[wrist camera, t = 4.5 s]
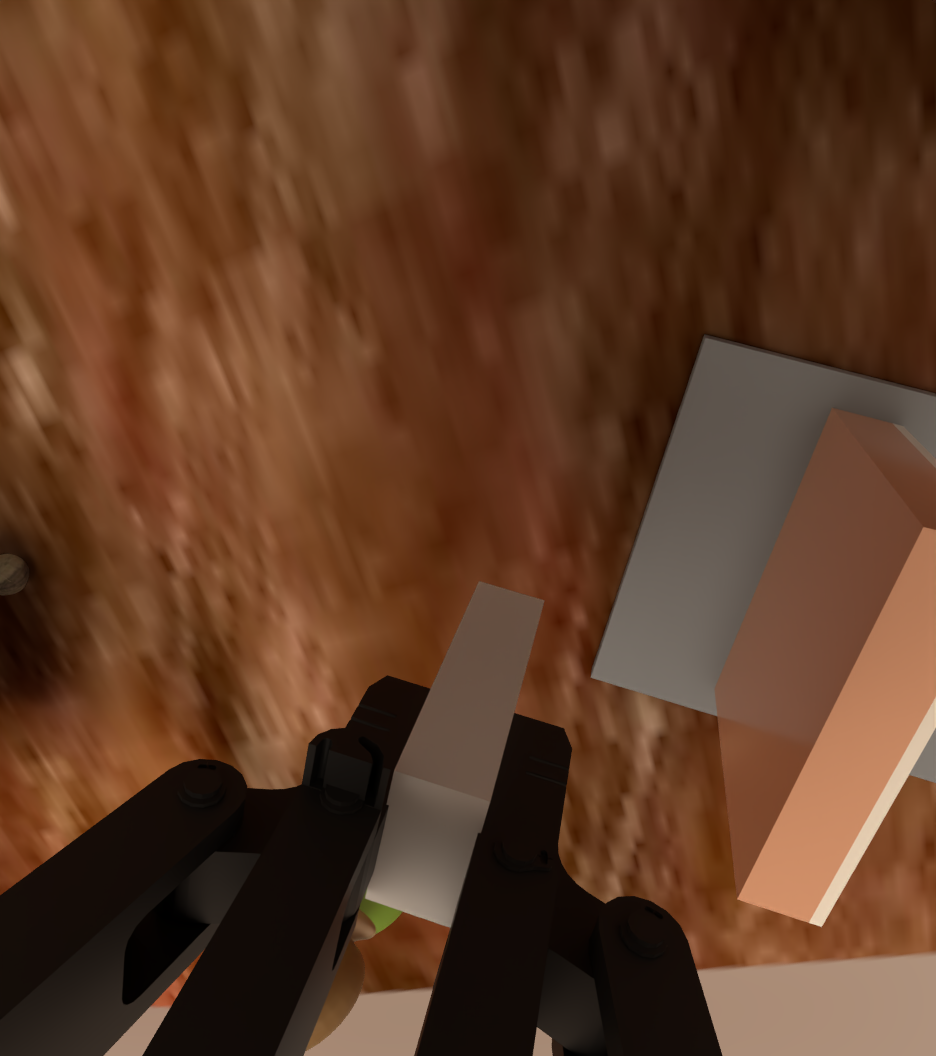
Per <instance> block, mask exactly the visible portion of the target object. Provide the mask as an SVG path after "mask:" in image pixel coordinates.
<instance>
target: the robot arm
mask: <svg viewBox="0 0 936 1056" xmlns="http://www.w3.org/2000/svg"><path fill="white" fill-rule="evenodd" d="M932 1H933V2H935V3H936V0H932ZM543 604H544V600H541V599H538V598H534V597H531V596H527V595H524V594H521V593H517V592H514V591H511V590H507V589H504V588H500V587H497V586H494V585H490V584H487V583H483V582H480V581H479V583H478V585H477V587H476V589H475V591H474V594H473V596H472V598H471V600H470V603H469V605H468V607H467V609H466V612H465V614H464V616H463V618H462V620H461V623H460V625H459V627H458V629H457V632H456V634H455V636H454V638H453V641H452V643H451V645H450V647H449V649H448V652H447V654H446V656H445V658H444V661H443V663H442V665H441V667H440V669H439V672H438V674H437V676H436V678H435V681H434V683H433V685H432V687H431V689H429V688H426V687H423V686H420V685H417V684H413V683H410V682H407V681H404V680H401V679H397V678H394V677H391V676H388V675H387V676H386V677H384V678H382V679H381V680H379V681H378V682H376V683H374V684H373V685H371V686H369V688H368V689H367V691H366V693H365V694H364V696H363V698H362V700H361V701H360V703H359V706H358V707H357V708H356V710H355V712H354V714H353V715H352V717H351V720H350V721H349V722H348V724H347V726H346V728H339V729H330V730H328V731H326V732H323V733H321V734H318V735H317V736H316V737H315V738H314V739H313V740H312V741H311V742H310V743H309V746H308V751H307V757H306V763H305V769H304V775H303V781H302V784H301V785H299V786H297V787H292V788H287V789H273V790H269V789H253V788H247V785H246V782H245V780H244V778H243V775H242V774H241V773H240V772H239V771H237V770H236V769H235V768H234V767H233V766H231V765H228V764H226V763H223V762H220V761H218V760H206V759H198V760H193V761H188V762H183V763H181V764H179V765H177V766H175V767H173V768H171V769H169V770H168V771H166V772H165V773H164V774H162V775H161V776H160V777H158V778H157V779H156V780H154V781H153V782H152V783H150V784H149V785H148V786H146V787H145V788H144V789H142V790H141V791H140V792H138V793H137V794H136V795H134V796H133V797H132V798H130V799H129V800H128V801H126V802H125V803H124V804H122V805H121V806H120V807H118V808H117V809H116V810H114V811H113V812H112V813H110V814H109V815H108V816H106V817H105V818H103V819H102V820H101V821H99V822H98V823H97V824H95V825H94V826H93V827H91V828H90V829H89V830H87V831H86V832H85V833H83V834H82V835H81V836H79V837H78V838H77V839H75V840H74V841H73V842H71V843H70V844H69V845H67V846H66V847H65V848H63V849H62V850H61V851H59V852H58V853H57V854H55V855H54V856H53V857H51V858H50V859H49V860H47V861H46V862H45V863H43V864H42V865H40V866H39V867H38V868H36V869H35V870H34V871H32V872H31V873H30V874H28V875H27V876H26V877H24V878H23V879H22V880H20V881H19V882H18V883H16V884H15V885H14V886H12V887H11V888H10V889H8V890H7V891H6V892H4V893H3V894H2V895H0V1056H103V1055H104V1054H105V1053H106V1052H107V1051H108V1050H109V1049H110V1048H111V1047H112V1046H113V1045H114V1044H115V1043H116V1042H117V1041H118V1040H119V1039H120V1038H121V1036H123V1034H124V1033H125V1032H126V1031H127V1030H128V1029H129V1028H130V1027H131V1026H132V1025H133V1024H134V1023H135V1022H136V1021H137V1020H138V1019H139V1018H140V1017H141V1016H142V1014H143V1013H144V1012H145V1011H146V1010H147V1009H148V1008H149V1007H150V1006H151V1005H152V1004H153V1003H154V1002H155V1001H156V1000H157V999H158V998H159V997H160V996H161V994H162V993H163V992H164V991H165V990H166V989H167V988H168V987H169V986H170V985H171V984H172V983H173V982H174V981H175V980H176V979H177V978H178V977H179V976H180V974H181V973H182V972H183V971H184V970H185V969H186V968H187V967H188V966H189V965H190V964H191V963H192V962H193V961H194V960H195V959H196V958H197V957H198V956H199V954H200V953H201V952H202V951H203V950H204V949H205V950H204V952H203V953H202V955H201V957H200V959H199V960H198V962H197V964H196V965H195V967H194V969H193V970H192V972H191V974H190V976H189V977H188V979H187V981H186V982H185V984H184V986H183V987H182V989H181V991H180V993H179V994H178V996H177V998H176V999H175V1001H174V1003H173V1004H172V1006H171V1008H170V1010H169V1011H168V1013H167V1015H166V1016H165V1018H164V1020H163V1022H162V1023H161V1025H160V1027H159V1028H158V1030H157V1032H156V1033H155V1035H154V1037H153V1038H152V1040H151V1042H150V1044H149V1046H148V1047H147V1049H146V1051H145V1052H144V1054H143V1055H142V1056H303V1055H304V1053H305V1050H306V1048H307V1045H308V1043H309V1041H310V1038H311V1036H312V1033H313V1031H314V1028H315V1026H316V1023H317V1021H318V1018H319V1016H320V1013H321V1011H322V1008H323V1006H324V1003H325V1001H326V998H327V996H328V993H329V991H330V988H331V986H332V983H333V981H334V978H335V976H336V973H337V971H338V968H339V966H340V963H341V961H342V959H343V956H344V954H345V951H346V949H347V946H348V944H349V941H350V939H351V936H352V934H353V931H354V929H355V926H356V921H357V917H358V912H359V908H360V904H361V902H362V899H363V897H364V894H365V892H366V890H367V892H366V896H365V899H368V900H371V901H374V902H377V903H380V904H382V905H385V906H388V907H391V908H394V909H397V910H400V911H403V912H406V913H409V914H412V915H415V916H418V917H420V918H423V919H426V920H429V921H432V922H435V923H438V924H441V925H444V926H447V927H450V931H449V935H448V938H447V942H446V945H445V948H444V952H443V955H442V959H441V962H440V965H439V969H438V972H437V976H436V979H435V982H434V986H433V991H432V995H431V998H430V1002H429V1005H428V1009H427V1012H426V1016H425V1020H424V1023H423V1027H422V1030H421V1034H420V1037H419V1041H418V1045H417V1048H416V1051H415V1055H414V1056H533V1049H534V1042H535V1035H536V1028H537V1027H538V1028H539V1029H541V1030H542V1031H543V1032H545V1033H546V1034H547V1035H549V1036H550V1037H551V1038H552V1053H553V1056H722V1053H721V1049H720V1046H719V1043H718V1040H717V1036H716V1033H715V1030H714V1026H713V1023H712V1020H711V1016H710V1013H709V1010H708V1006H707V1003H706V1000H705V997H704V993H703V990H702V986H701V983H700V980H699V977H698V974H697V970H696V967H695V963H694V960H693V957H692V953H691V950H690V947H689V943H688V940H687V938H686V936H685V934H684V932H683V930H682V928H681V926H680V925H679V924H678V922H677V921H676V920H675V919H674V918H673V917H672V916H671V915H670V914H669V913H668V912H667V911H666V910H664V909H663V908H661V907H659V906H658V905H656V904H655V903H653V902H651V901H649V900H645V899H642V898H638V897H635V896H626V897H617V898H615V899H613V900H611V901H609V902H607V903H606V904H605V903H603V902H602V901H600V900H599V899H597V898H596V897H594V896H592V895H591V894H589V893H588V892H587V891H585V890H584V889H583V888H581V887H580V886H579V885H577V884H576V883H575V881H574V880H573V879H572V878H571V877H570V876H569V875H568V874H567V872H566V870H565V869H564V867H563V865H562V864H561V860H560V857H559V854H558V840H559V833H560V826H561V820H562V813H563V806H564V799H565V793H566V785H567V779H568V770H569V766H570V759H571V752H572V747H571V745H570V742H569V740H568V737H567V735H566V733H565V730H564V728H561V727H558V726H554V725H551V724H548V723H545V722H542V721H538V720H535V719H532V718H529V717H525V716H522V715H519V714H516V713H514V711H515V708H516V704H517V700H518V697H519V693H520V689H521V685H522V682H523V678H524V674H525V671H526V667H527V663H528V659H529V656H530V652H531V648H532V644H533V641H534V637H535V633H536V630H537V626H538V622H539V618H540V615H541V611H542V607H543ZM367 887H368V888H367Z"/></svg>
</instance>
